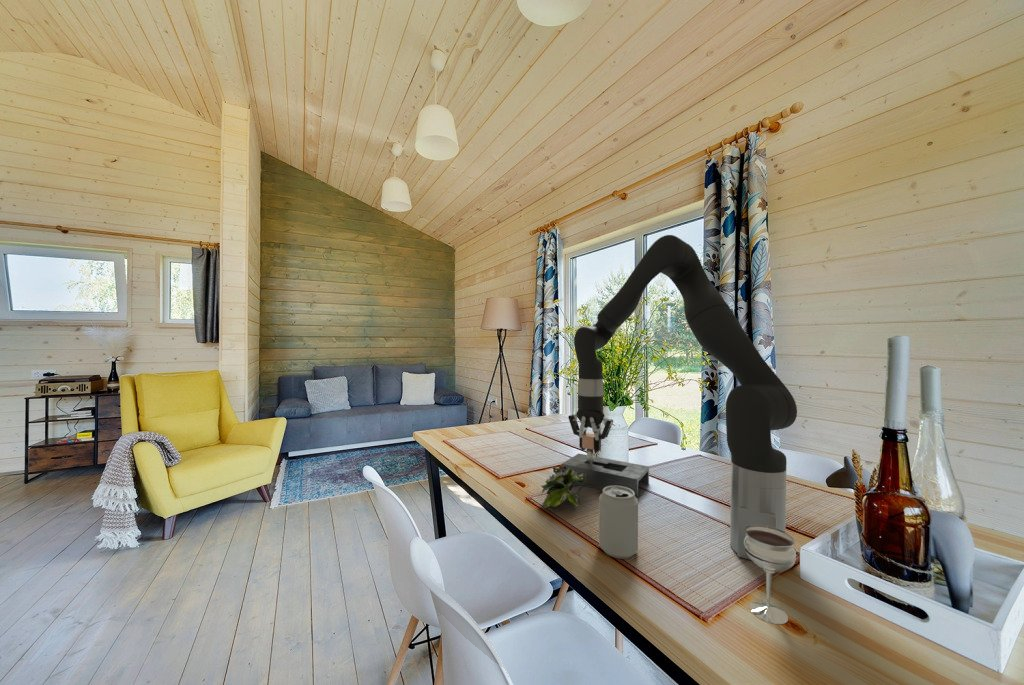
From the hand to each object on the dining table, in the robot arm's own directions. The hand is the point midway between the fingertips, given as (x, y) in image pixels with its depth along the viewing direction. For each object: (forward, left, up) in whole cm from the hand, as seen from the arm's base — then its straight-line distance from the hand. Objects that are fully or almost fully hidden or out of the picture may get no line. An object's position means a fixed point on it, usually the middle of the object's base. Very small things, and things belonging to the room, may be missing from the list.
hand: (590, 450), depth 115 cm
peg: (0, 0, -7) cm, 7 cm away
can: (-33, -20, -9) cm, 39 cm away
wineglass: (-37, -45, -9) cm, 59 cm away
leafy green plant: (-20, -2, -9) cm, 22 cm away
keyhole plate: (0, -5, -8) cm, 10 cm away
